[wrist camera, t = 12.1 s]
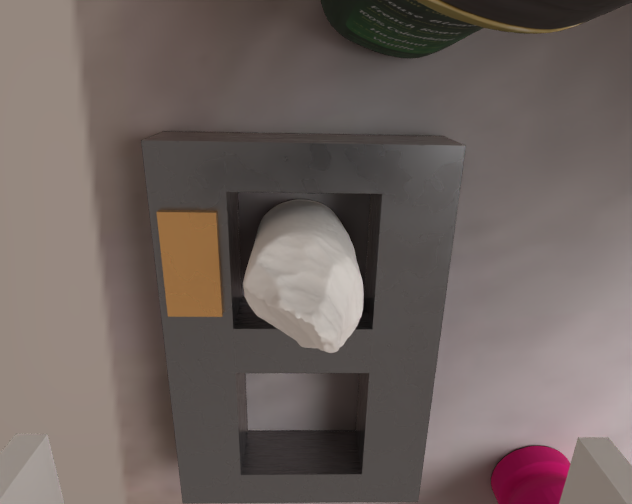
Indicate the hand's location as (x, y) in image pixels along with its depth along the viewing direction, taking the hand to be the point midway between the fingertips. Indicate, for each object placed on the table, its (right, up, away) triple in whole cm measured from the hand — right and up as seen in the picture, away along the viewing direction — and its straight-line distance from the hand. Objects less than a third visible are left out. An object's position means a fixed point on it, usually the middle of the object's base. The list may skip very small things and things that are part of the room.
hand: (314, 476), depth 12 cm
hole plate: (-1, +1, +19) cm, 19 cm away
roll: (-1, +7, +17) cm, 18 cm away
